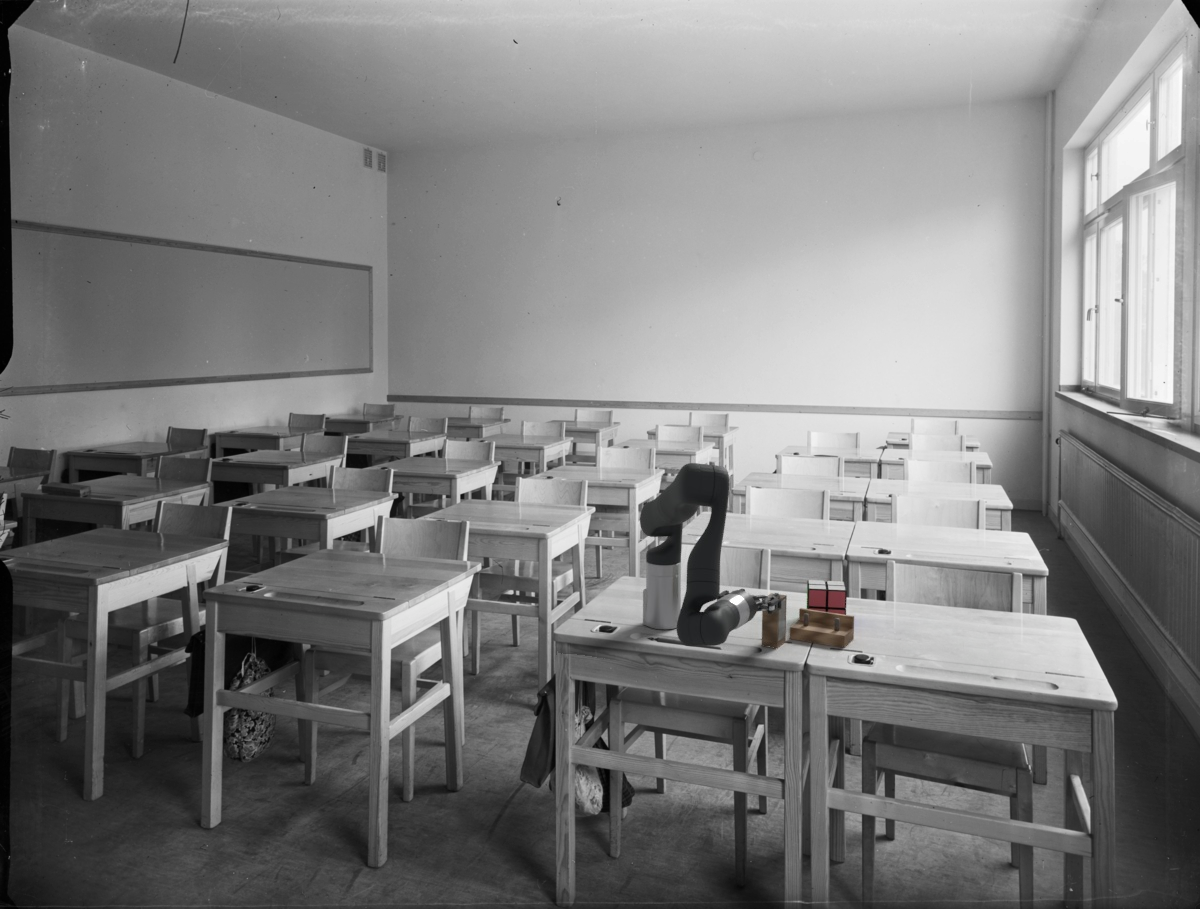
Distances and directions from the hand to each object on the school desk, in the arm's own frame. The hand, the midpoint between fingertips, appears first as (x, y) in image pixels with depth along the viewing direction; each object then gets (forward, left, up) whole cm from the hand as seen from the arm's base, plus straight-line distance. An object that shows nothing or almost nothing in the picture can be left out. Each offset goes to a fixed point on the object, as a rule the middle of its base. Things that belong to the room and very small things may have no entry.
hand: (760, 595), depth 219 cm
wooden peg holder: (+9, +20, -15) cm, 27 cm away
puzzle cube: (+5, +36, -15) cm, 40 cm away
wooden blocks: (0, +10, -15) cm, 18 cm away
